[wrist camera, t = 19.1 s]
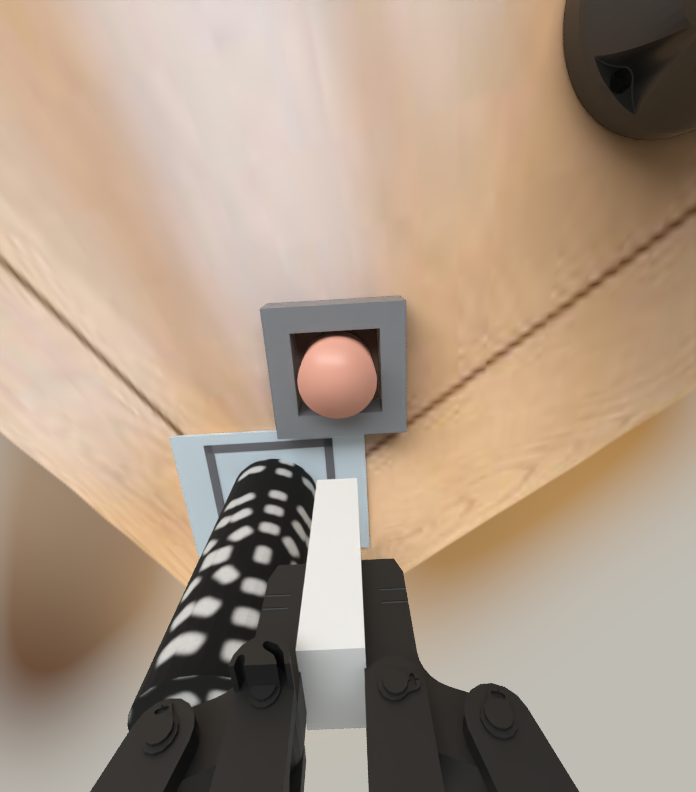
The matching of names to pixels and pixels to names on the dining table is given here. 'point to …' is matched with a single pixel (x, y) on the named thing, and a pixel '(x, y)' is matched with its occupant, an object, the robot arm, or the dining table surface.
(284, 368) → the button housing
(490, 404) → the dining table surface
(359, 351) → the button
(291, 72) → the dining table surface
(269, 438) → the drawing pad
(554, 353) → the dining table surface
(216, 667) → the white-spotted black cylinder
